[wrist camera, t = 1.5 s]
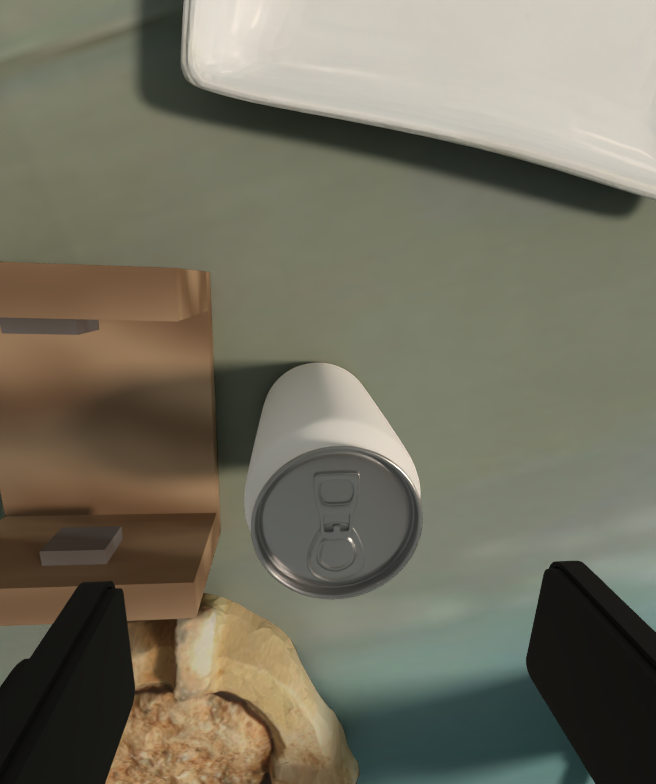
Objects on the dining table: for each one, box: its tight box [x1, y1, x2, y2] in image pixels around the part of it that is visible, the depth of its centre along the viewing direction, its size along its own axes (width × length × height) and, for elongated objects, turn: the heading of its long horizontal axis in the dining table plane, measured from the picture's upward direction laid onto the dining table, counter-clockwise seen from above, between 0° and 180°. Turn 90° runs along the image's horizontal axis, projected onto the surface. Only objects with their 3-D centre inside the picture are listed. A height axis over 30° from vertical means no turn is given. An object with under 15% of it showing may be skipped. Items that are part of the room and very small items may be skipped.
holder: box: [0, 262, 221, 626], centre depth 20 cm, size 16×12×7 cm
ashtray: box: [105, 593, 359, 784], centre depth 28 cm, size 24×24×5 cm
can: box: [244, 363, 423, 599], centre depth 19 cm, size 6×6×12 cm
